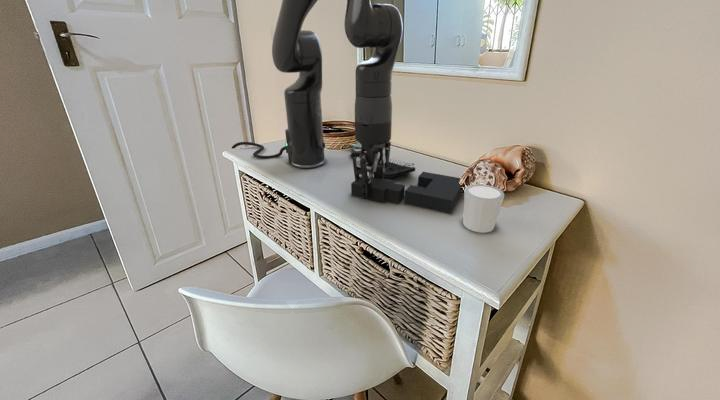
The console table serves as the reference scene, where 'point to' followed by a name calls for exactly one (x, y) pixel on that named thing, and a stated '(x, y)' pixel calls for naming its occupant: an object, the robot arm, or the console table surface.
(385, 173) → the hairbrush
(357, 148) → the pacifier
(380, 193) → the pad
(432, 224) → the console table surface
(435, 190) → the notch pad
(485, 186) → the white cylinder
